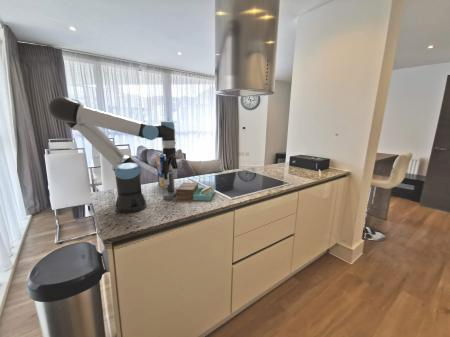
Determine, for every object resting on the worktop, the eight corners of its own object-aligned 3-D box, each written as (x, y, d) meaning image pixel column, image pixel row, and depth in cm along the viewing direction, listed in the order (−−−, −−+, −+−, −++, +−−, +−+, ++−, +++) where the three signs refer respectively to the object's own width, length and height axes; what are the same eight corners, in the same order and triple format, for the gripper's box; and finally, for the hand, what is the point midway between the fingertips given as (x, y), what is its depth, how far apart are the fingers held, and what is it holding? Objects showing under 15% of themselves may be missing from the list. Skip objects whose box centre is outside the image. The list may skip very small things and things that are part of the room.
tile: (200, 192, 127) (202, 196, 127) (209, 188, 125) (211, 192, 126) (202, 189, 132) (204, 193, 133) (210, 185, 131) (213, 189, 132)
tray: (209, 200, 122) (209, 195, 121) (193, 199, 123) (193, 195, 123) (214, 192, 137) (214, 187, 136) (199, 191, 138) (199, 187, 137)
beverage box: (167, 182, 159) (165, 154, 155) (172, 186, 150) (170, 156, 146) (158, 184, 156) (156, 155, 151) (163, 187, 147) (160, 157, 142)
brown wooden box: (192, 199, 124) (192, 189, 123) (176, 199, 125) (176, 189, 124) (198, 192, 137) (198, 183, 136) (183, 191, 138) (183, 182, 137)
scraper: (172, 199, 124) (171, 176, 121) (163, 199, 125) (161, 176, 122) (181, 191, 140) (180, 170, 137) (172, 191, 140) (171, 170, 137)
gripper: (167, 150, 113) (169, 187, 118) (181, 145, 138) (182, 176, 142) (154, 149, 114) (156, 187, 119) (170, 145, 138) (172, 176, 143)
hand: (171, 181), depth 130 cm, fingers open, 13 cm apart
